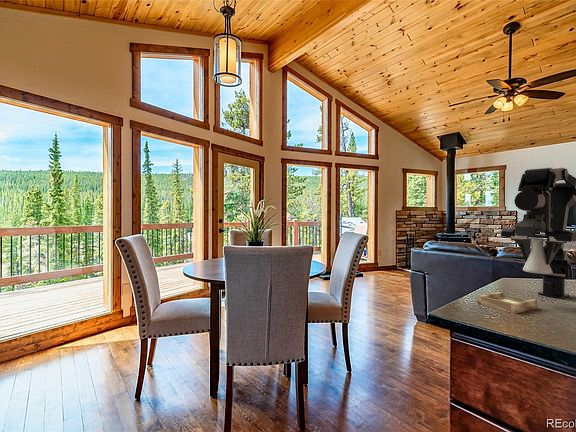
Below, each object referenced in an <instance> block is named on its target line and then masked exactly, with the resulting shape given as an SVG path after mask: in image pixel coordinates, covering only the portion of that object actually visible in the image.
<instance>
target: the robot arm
mask: <svg viewBox="0 0 576 432" xmlns="http://www.w3.org/2000/svg"><path fill="white" fill-rule="evenodd" d="M519 181H520V182H519V184H518V188H517V191H518V193H517V194H516V196H515V197H514V206H515V207H516V208H517V209H518V210H520V211H525V212H526V213H525V214H523V217H522V220H519V221H518V222H517V223H515V224H513V227H504V228H502V229H501V230H500V237H501V238H510V240H511V241H512V242H513V241H514V242H515V243H516V244H517V246H518V248H520V251H521V254H522V256H523V258H524V259H523V260H524V261H525V262H526V261H527V259H528V257H529V254H530V252H531V247H532V241H531V239H532V238H542V239H545V238H546V240H544V243H545V245H543V248H544V253H545V255H546V264H547V265H550V267H551V270H552V272H553V273H552V274H539V273H535V275H536V276H540V277H542V291H537V295H541V296H545V297H552V298H557V299H563V298H568V297H571V295H570V294H569V293H566V280H574V272H573V267H572V266H573V265H572V264H571V262H570V260H569V257H568V255H567V253H566V251H565V250H564V247H565V246H564V245H565V244H567V243H568V242H572V243H573V242H576V230H571V229H570V230H567V223H568V218H569V217H568V216H569V210H570V208H571V207H573V206H574V205H575V204H576V177H575V176H573V175H572V174H570V173H569V171H568V168H565V167H559V168H552V167H541V168H531V169H530V168H529V169H526V170H524V173H522V175H521V177H520V180H519ZM560 181H564V182H560ZM531 237H532V238H531Z"/></svg>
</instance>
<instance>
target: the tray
mask: <svg viewBox="0 0 576 432" xmlns="http://www.w3.org/2000/svg"><path fill="white" fill-rule="evenodd" d="M477 305H481V306H484V307H488V308H492V309H496V310H498V311H499V310H500V311H504V312H508V313H511V314H518V313H523V312H527V311H531V310H535V309H538V299H535V298H532V299H525V298H521V297H517V296H512V295H507V294H504V292H503V291H497V292H491V293H486V294H481V295H477Z"/></svg>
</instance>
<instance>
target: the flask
mask: <svg viewBox="0 0 576 432" xmlns="http://www.w3.org/2000/svg"><path fill="white" fill-rule="evenodd" d="M530 239H531V247H530V254H529V257H528V259H527V261H525V262H524V266H523V268H522V271H523V272H527V273H530V274H531V273H532V274H536V273H539V274H552V273H553V272H552V270H551V267H550V265H547V264H546V255H545V253H544V248H543V247H544V242H545V241H546V240H545V238H530Z"/></svg>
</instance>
